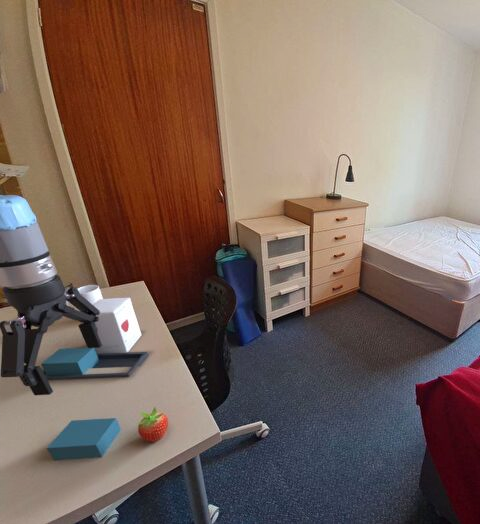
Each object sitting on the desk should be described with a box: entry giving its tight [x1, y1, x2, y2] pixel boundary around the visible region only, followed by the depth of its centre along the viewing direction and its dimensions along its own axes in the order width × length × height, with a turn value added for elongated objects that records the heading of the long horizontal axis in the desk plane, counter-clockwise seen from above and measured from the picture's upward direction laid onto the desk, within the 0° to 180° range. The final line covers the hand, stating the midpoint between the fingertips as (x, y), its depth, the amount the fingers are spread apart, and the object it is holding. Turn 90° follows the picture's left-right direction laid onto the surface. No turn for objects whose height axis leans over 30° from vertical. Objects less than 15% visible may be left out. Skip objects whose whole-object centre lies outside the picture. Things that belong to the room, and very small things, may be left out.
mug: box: [65, 284, 104, 312], centre depth 99 cm, size 10×7×12 cm, turn 134°
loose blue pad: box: [46, 417, 122, 461], centre depth 59 cm, size 9×6×5 cm, turn 95°
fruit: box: [136, 406, 169, 442], centre depth 61 cm, size 5×5×8 cm
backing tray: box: [42, 351, 149, 381], centre depth 80 cm, size 24×9×2 cm, turn 95°
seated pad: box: [40, 347, 99, 376], centre depth 78 cm, size 9×6×5 cm, turn 95°
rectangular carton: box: [93, 297, 142, 354], centre depth 87 cm, size 9×9×15 cm
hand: (72, 367), depth 61 cm, fingers open, 13 cm apart
